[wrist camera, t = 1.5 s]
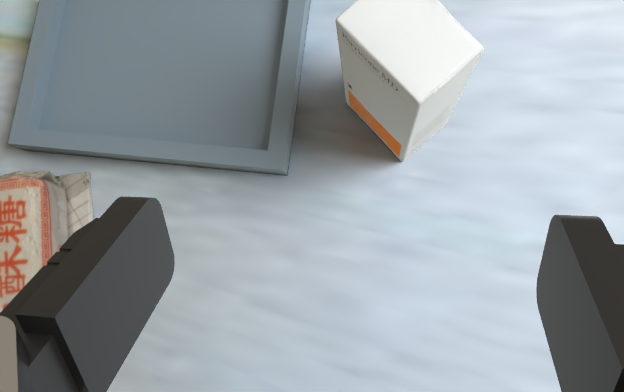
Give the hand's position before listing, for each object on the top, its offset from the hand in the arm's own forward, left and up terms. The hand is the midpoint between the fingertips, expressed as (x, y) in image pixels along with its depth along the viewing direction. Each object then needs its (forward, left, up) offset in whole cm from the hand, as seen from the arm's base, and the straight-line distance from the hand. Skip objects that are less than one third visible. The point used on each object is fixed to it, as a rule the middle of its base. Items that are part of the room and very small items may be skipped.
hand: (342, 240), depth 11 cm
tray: (-16, +14, -24) cm, 32 cm away
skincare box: (+1, +11, -24) cm, 26 cm away
